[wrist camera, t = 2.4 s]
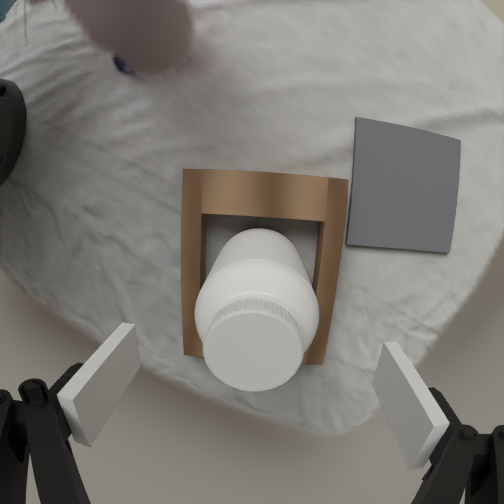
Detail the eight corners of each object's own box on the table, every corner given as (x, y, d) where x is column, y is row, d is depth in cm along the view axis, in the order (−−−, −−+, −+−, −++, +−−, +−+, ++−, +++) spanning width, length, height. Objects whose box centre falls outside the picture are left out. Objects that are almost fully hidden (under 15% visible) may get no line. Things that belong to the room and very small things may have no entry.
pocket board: (189, 342, 32) (183, 354, 30) (190, 169, 28) (183, 168, 25) (319, 351, 32) (322, 364, 29) (341, 179, 27) (348, 179, 25)
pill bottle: (232, 314, 31) (207, 417, 17) (207, 238, 29) (154, 301, 15) (309, 295, 30) (340, 392, 16) (289, 216, 29) (313, 261, 14)
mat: (345, 243, 29) (346, 244, 28) (355, 118, 26) (356, 117, 25) (447, 251, 29) (449, 252, 28) (458, 140, 26) (460, 140, 25)
